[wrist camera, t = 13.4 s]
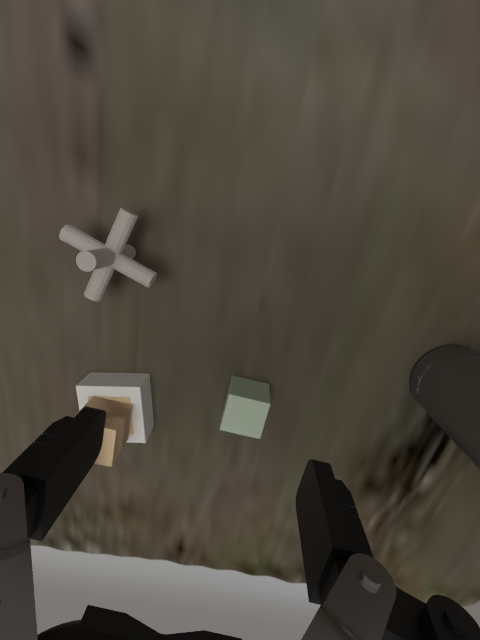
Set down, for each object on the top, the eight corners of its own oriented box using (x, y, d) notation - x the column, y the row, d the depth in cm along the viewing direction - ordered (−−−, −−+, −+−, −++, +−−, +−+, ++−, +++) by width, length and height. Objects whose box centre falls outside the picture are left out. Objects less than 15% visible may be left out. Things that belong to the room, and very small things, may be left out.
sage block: (268, 383, 43) (270, 403, 38) (259, 415, 44) (259, 439, 39) (231, 374, 43) (228, 394, 38) (223, 407, 44) (219, 429, 39)
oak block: (133, 405, 40) (116, 430, 35) (128, 438, 41) (111, 467, 37) (93, 396, 40) (70, 420, 35) (89, 429, 41) (68, 457, 37)
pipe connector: (148, 308, 40) (115, 334, 31) (74, 267, 39) (16, 282, 30) (184, 235, 38) (160, 239, 28) (106, 190, 37) (53, 178, 27)
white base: (150, 372, 43) (139, 387, 39) (154, 424, 46) (145, 444, 42) (91, 371, 44) (74, 386, 40) (99, 423, 46) (83, 442, 42)
